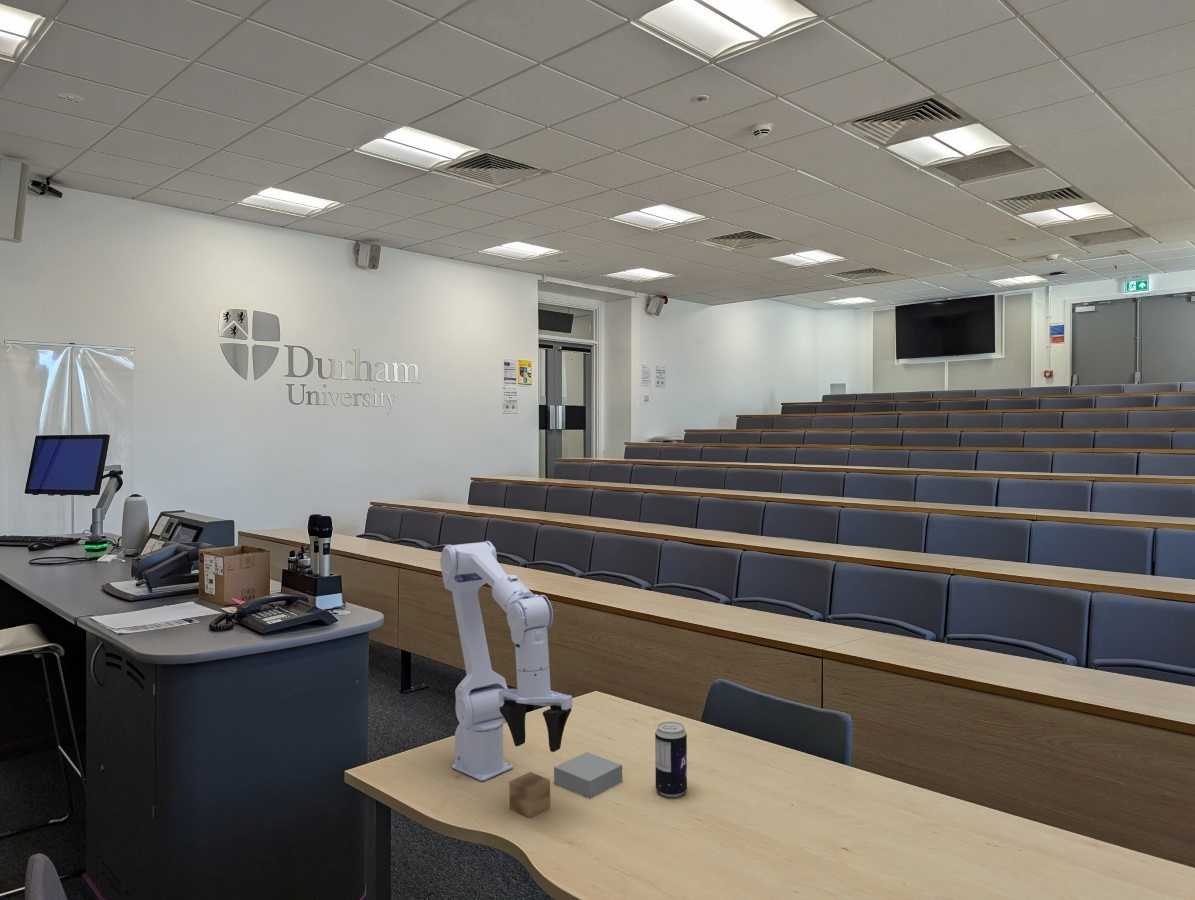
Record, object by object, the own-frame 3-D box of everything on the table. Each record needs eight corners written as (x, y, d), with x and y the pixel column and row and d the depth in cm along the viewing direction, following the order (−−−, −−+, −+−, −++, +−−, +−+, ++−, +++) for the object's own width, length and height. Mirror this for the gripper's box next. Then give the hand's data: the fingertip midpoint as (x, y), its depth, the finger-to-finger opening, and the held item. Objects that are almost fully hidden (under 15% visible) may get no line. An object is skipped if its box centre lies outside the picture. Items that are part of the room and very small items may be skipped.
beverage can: (685, 800, 139) (685, 733, 138) (653, 797, 140) (653, 731, 140) (688, 786, 144) (687, 721, 144) (657, 783, 145) (657, 719, 145)
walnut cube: (509, 809, 136) (509, 781, 136) (530, 799, 140) (530, 771, 140) (529, 819, 133) (529, 790, 133) (550, 808, 137) (550, 780, 136)
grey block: (554, 785, 146) (554, 767, 146) (587, 769, 153) (586, 752, 152) (589, 800, 140) (589, 781, 140) (622, 783, 147) (622, 764, 146)
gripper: (485, 669, 136) (489, 749, 135) (553, 676, 128) (558, 760, 128) (511, 661, 142) (515, 736, 141) (577, 666, 134) (582, 746, 134)
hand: (537, 747), depth 135 cm, fingers open, 7 cm apart
